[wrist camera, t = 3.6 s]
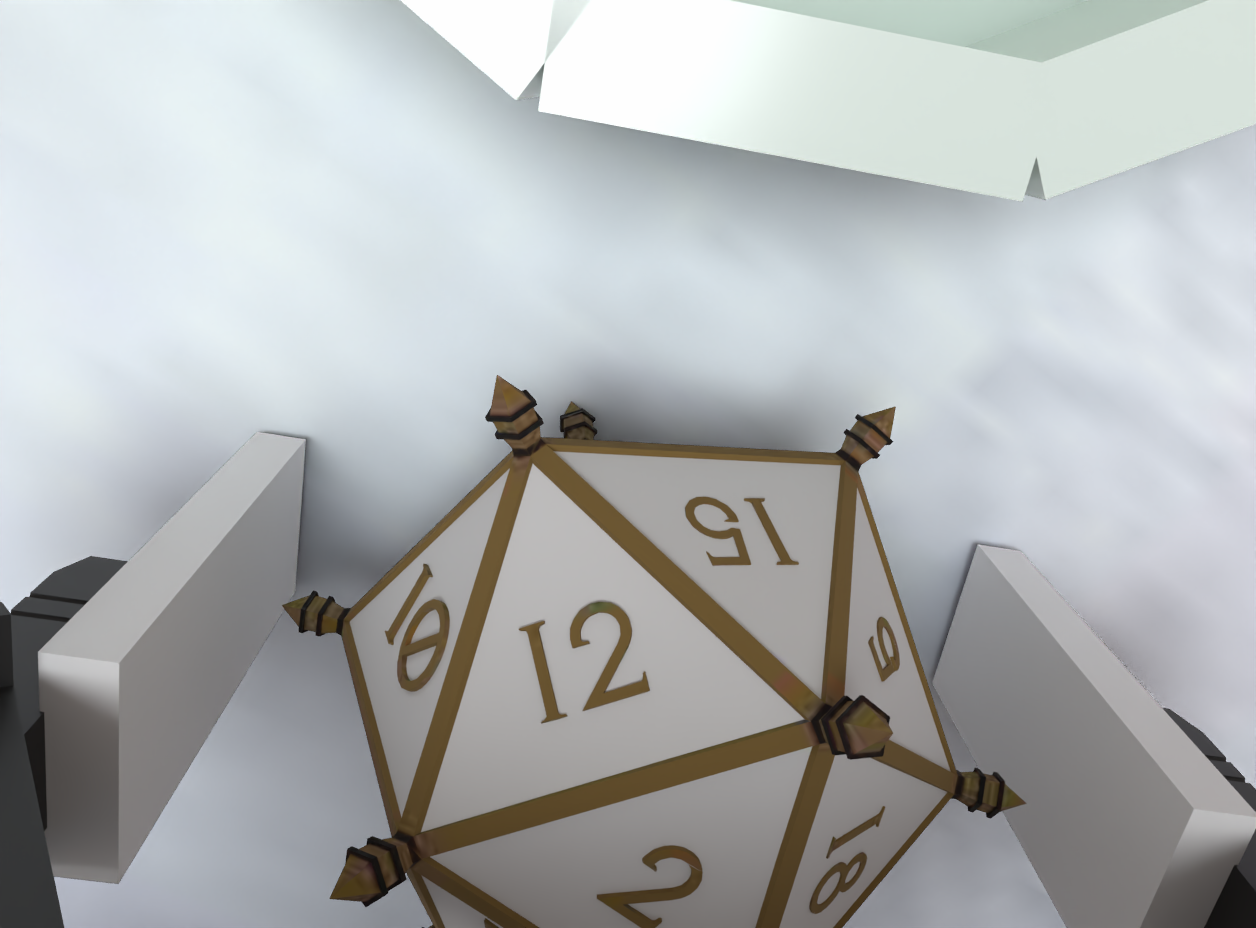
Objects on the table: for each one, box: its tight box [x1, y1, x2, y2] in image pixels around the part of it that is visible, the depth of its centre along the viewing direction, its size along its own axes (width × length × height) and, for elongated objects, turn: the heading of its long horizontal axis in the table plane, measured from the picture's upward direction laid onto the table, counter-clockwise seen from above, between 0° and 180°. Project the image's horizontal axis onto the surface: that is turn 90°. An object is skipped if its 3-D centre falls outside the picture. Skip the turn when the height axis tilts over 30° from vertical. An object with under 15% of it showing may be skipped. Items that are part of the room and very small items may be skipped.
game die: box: [282, 375, 1027, 928], centre depth 13 cm, size 9×8×10 cm
